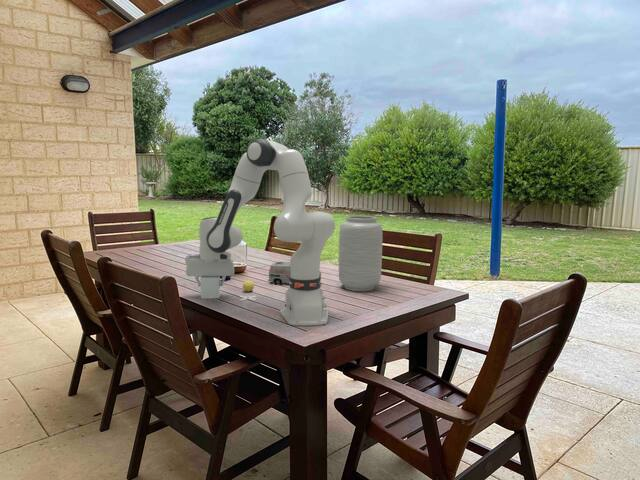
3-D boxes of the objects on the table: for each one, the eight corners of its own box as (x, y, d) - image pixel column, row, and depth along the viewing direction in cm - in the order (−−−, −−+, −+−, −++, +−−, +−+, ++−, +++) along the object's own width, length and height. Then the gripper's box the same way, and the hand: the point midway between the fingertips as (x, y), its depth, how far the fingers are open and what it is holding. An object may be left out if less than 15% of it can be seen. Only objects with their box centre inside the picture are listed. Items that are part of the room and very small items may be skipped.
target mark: (262, 298, 199) (262, 297, 199) (247, 302, 192) (247, 302, 192) (248, 294, 204) (248, 294, 204) (232, 298, 197) (232, 298, 197)
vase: (346, 294, 207) (347, 219, 203) (332, 283, 227) (334, 215, 222) (387, 291, 213) (390, 219, 208) (371, 281, 232) (373, 215, 227)
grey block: (218, 298, 198) (218, 278, 196) (201, 298, 197) (200, 278, 195) (220, 293, 205) (219, 274, 204) (203, 294, 204) (202, 274, 203)
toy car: (317, 287, 219) (317, 267, 218) (267, 284, 224) (267, 264, 222) (322, 282, 229) (322, 263, 228) (274, 279, 234) (274, 260, 233)
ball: (253, 292, 208) (253, 281, 207) (242, 292, 207) (242, 281, 206) (254, 289, 213) (253, 279, 212) (243, 290, 212) (242, 279, 211)
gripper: (184, 255, 194) (184, 288, 196) (233, 255, 197) (233, 287, 199) (186, 253, 200) (187, 284, 202) (234, 253, 203) (234, 283, 205)
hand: (210, 285), depth 200 cm, fingers open, 8 cm apart
